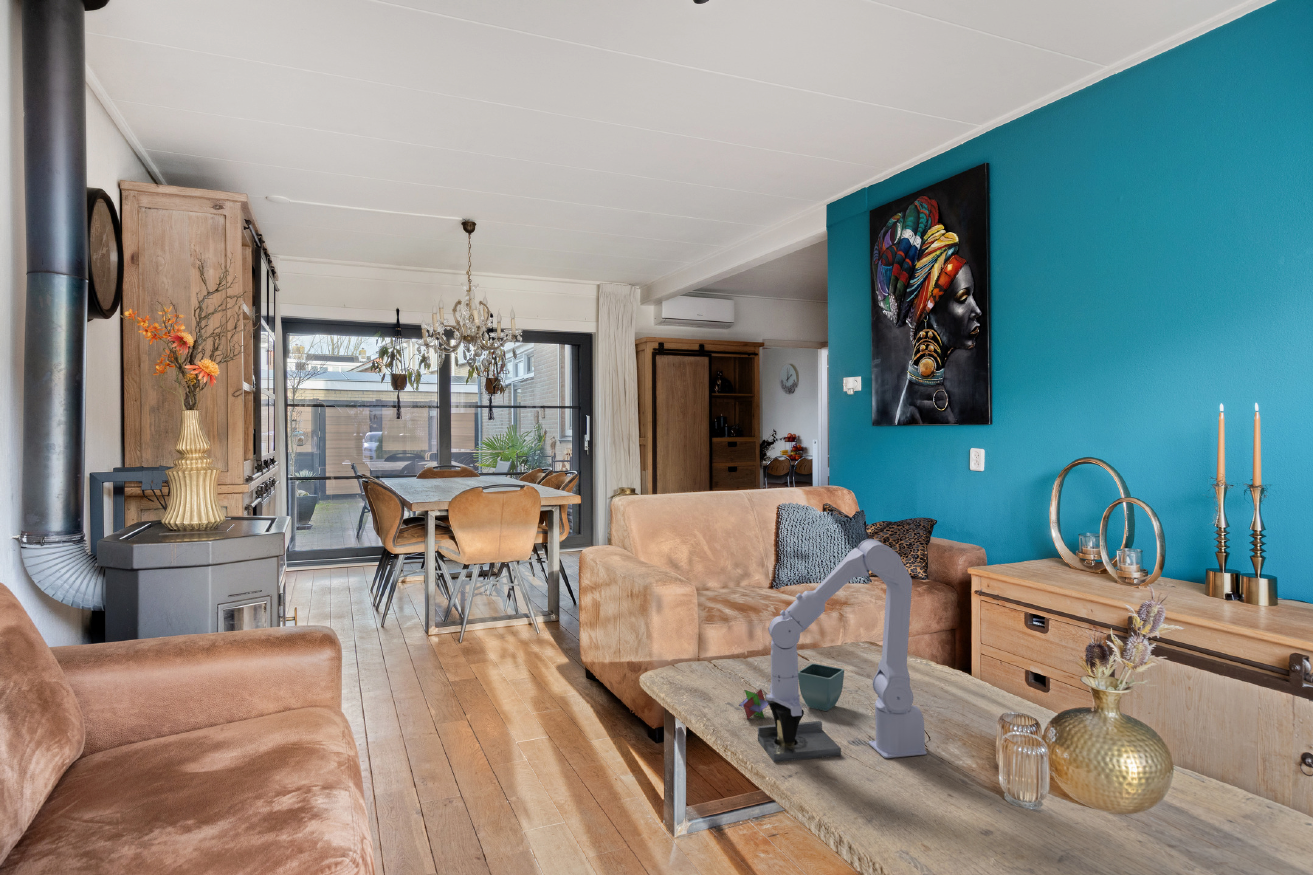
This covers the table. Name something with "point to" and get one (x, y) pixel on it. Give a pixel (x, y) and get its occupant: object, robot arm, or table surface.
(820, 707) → the flower pot
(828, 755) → the jig
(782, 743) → the brass cylinder plug
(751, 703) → the geometric puzzle
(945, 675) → the table surface
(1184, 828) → the table surface
